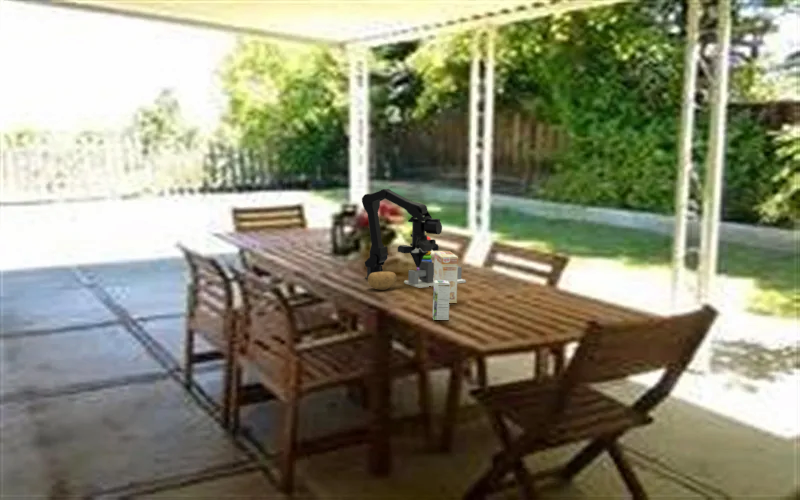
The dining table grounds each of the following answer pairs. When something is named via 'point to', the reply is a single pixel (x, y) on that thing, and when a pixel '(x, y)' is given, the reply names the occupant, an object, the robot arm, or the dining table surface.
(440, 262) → the coffeecake box
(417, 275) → the pipe rig
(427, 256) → the stacking toy
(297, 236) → the dining table surface
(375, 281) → the potato
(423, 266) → the collar
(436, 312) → the syrup box
